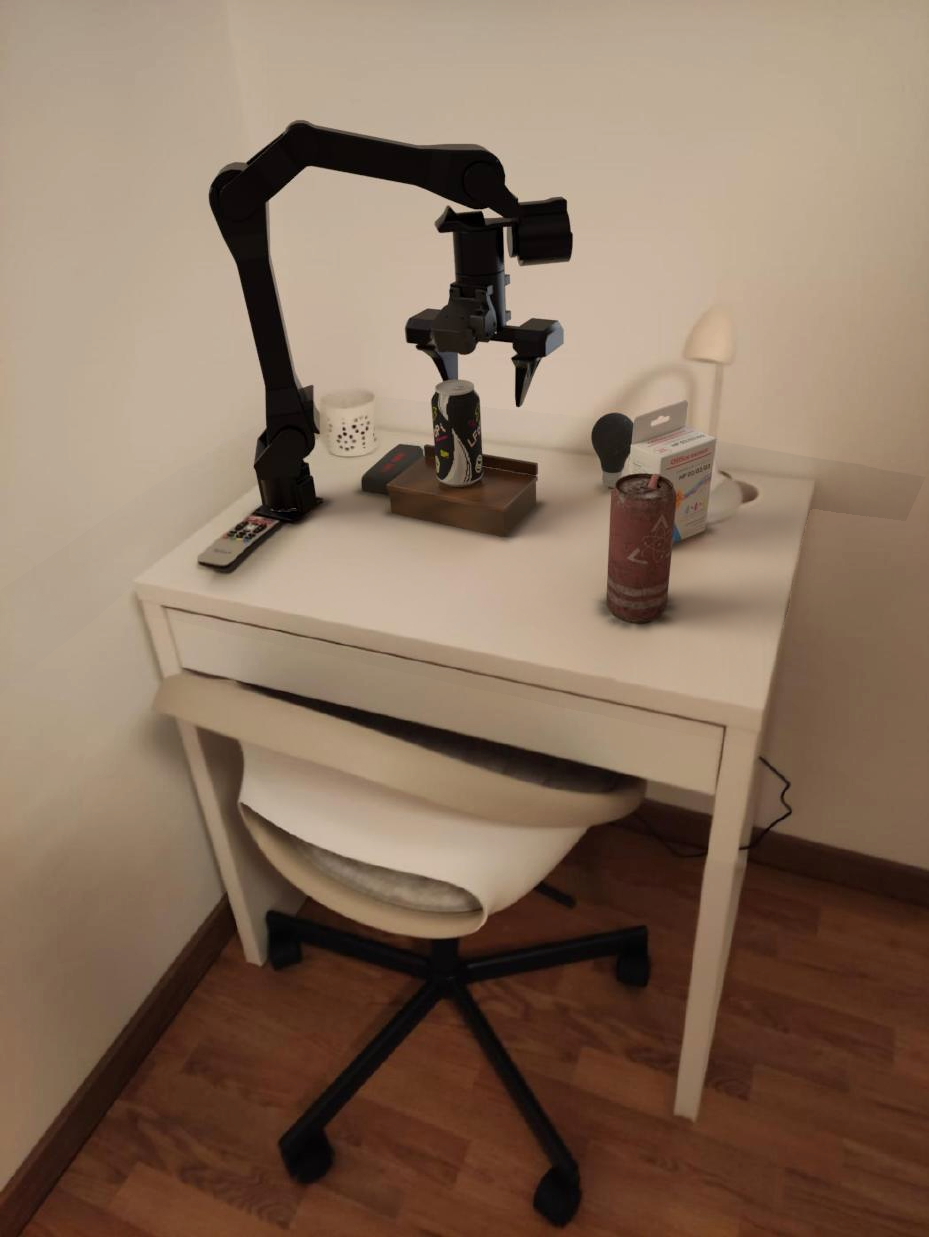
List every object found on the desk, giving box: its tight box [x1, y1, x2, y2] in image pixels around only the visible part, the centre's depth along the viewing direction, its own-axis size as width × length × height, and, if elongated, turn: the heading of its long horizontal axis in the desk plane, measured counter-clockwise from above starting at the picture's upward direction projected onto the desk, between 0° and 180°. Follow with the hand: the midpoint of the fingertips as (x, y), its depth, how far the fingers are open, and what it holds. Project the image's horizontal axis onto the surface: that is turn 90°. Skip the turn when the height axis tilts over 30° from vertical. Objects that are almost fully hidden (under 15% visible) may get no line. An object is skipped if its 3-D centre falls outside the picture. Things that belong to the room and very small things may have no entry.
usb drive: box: [360, 442, 425, 496], centre depth 120 cm, size 5×12×3 cm, turn 158°
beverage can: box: [430, 379, 484, 487], centre depth 105 cm, size 6×6×12 cm
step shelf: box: [386, 443, 539, 538], centre depth 110 cm, size 16×10×6 cm, turn 62°
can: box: [605, 473, 677, 624], centre depth 87 cm, size 6×6×14 cm
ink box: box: [628, 399, 717, 544], centre depth 99 cm, size 8×5×15 cm, turn 123°
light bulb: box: [590, 412, 634, 490], centre depth 111 cm, size 6×6×10 cm
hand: (485, 401), depth 109 cm, fingers open, 9 cm apart
